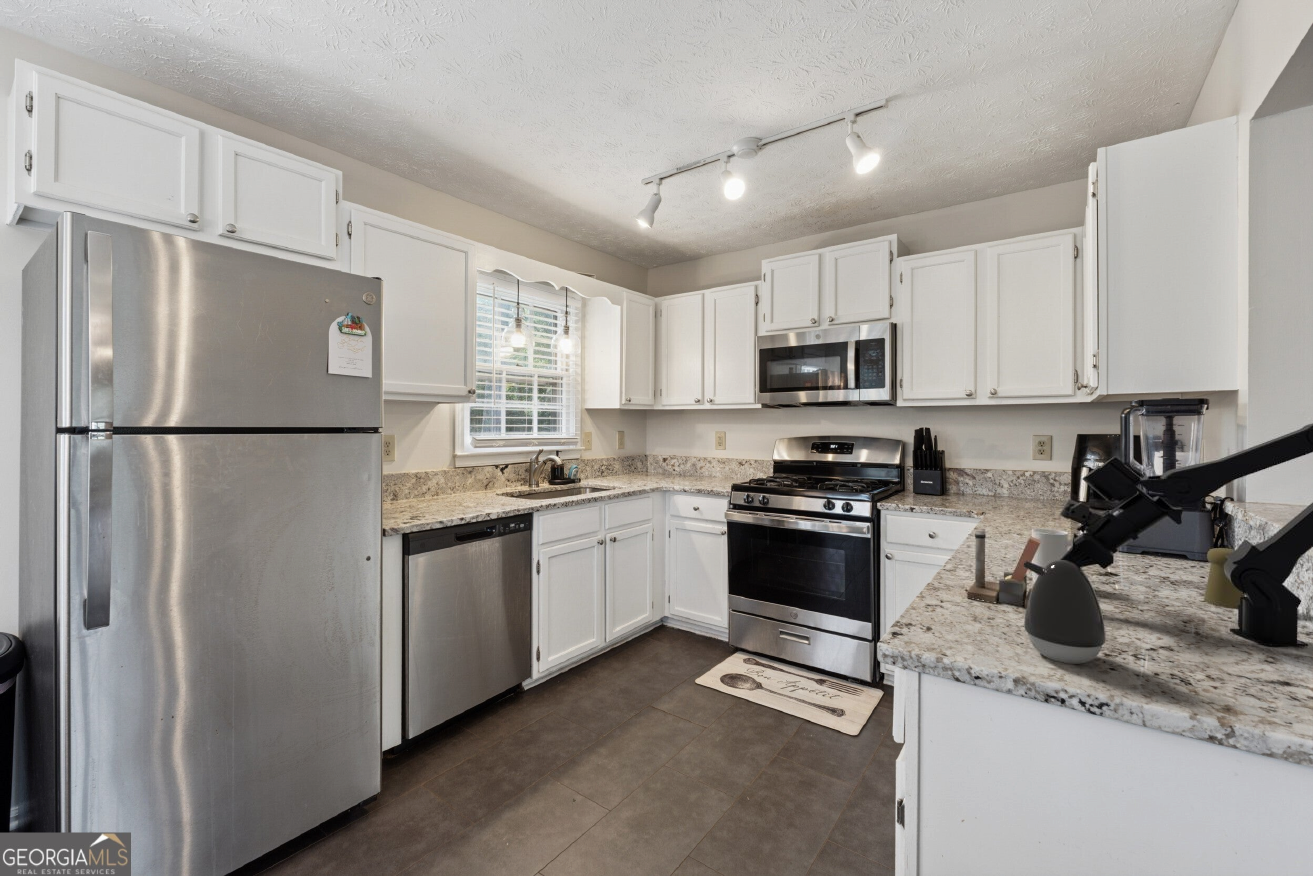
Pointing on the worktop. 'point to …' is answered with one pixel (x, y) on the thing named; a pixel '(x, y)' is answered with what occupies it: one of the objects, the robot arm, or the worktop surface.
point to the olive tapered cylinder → (1220, 581)
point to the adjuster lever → (1026, 556)
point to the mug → (1050, 547)
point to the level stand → (991, 590)
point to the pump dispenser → (1064, 613)
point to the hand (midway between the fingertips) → (1055, 568)
